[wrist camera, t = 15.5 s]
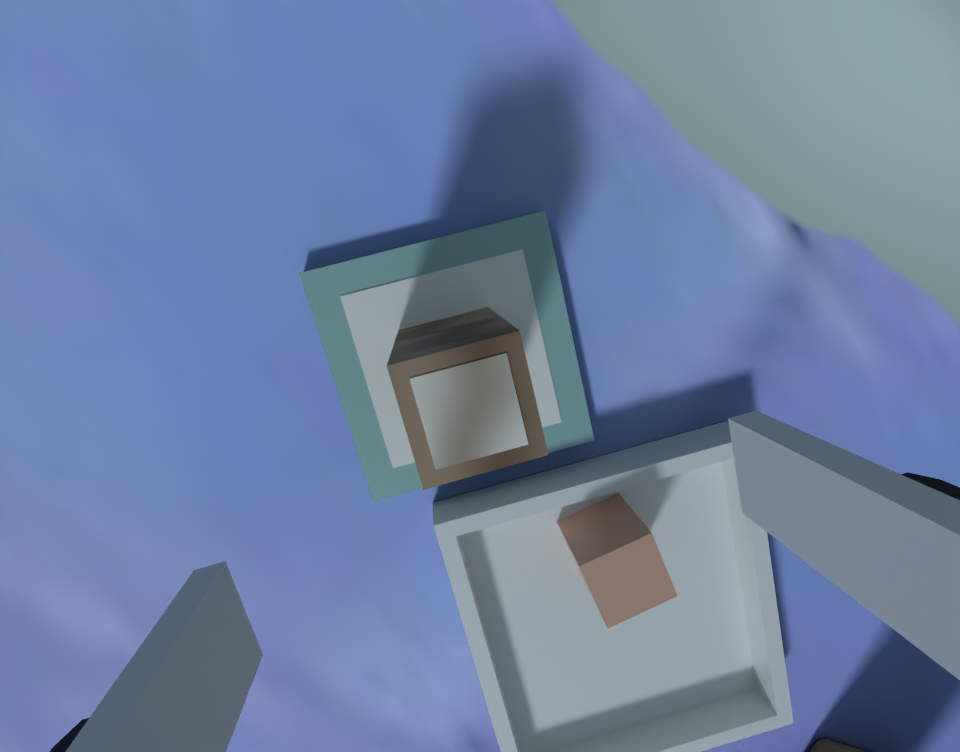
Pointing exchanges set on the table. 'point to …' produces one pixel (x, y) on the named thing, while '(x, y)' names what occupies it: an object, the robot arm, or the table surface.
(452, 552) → the tray
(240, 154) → the table surface
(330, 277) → the board
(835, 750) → the wooden block
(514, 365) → the walnut box
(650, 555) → the clay cube
